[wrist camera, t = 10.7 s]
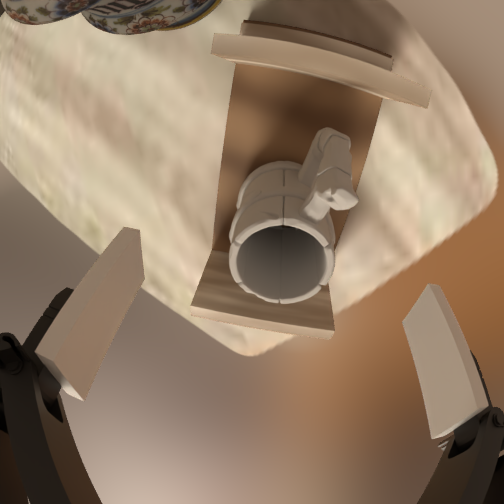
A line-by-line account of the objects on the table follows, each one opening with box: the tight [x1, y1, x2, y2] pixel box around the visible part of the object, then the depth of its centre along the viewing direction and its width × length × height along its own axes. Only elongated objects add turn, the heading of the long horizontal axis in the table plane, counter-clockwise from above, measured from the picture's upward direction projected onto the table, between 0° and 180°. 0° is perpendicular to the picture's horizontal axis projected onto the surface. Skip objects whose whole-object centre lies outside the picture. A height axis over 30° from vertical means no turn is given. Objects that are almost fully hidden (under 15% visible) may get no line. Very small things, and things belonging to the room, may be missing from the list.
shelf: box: [191, 20, 432, 340], centre depth 20 cm, size 26×12×10 cm, turn 171°
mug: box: [229, 127, 359, 304], centre depth 18 cm, size 8×12×12 cm, turn 155°
